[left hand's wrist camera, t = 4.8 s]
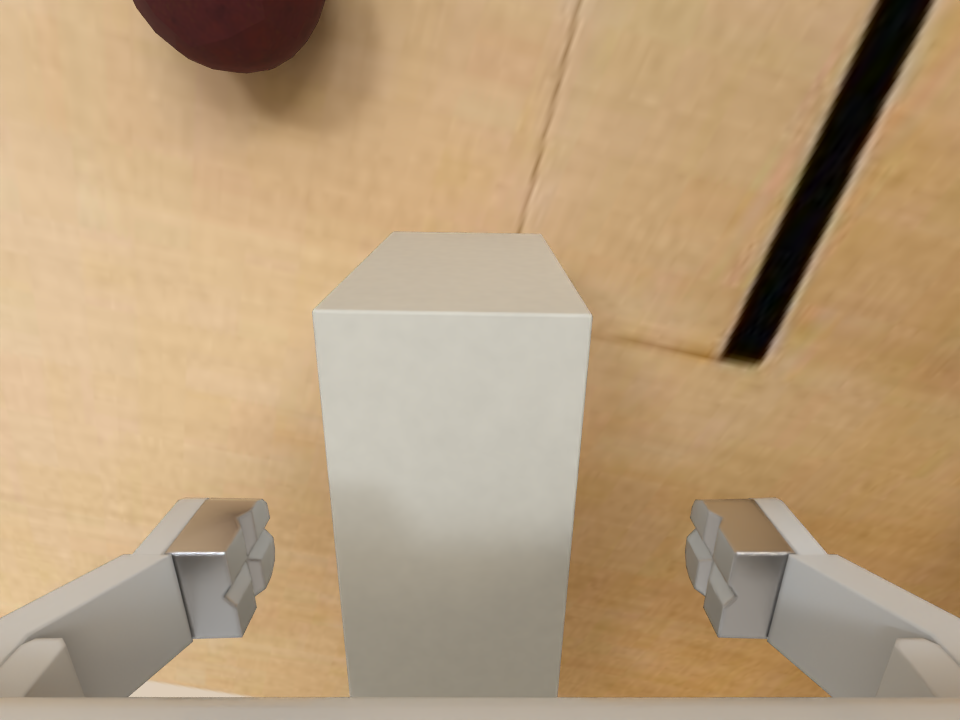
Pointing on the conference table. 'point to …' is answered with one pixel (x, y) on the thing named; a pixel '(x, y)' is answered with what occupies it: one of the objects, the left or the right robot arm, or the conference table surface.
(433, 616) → the box
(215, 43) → the dark red ball
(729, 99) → the conference table surface
